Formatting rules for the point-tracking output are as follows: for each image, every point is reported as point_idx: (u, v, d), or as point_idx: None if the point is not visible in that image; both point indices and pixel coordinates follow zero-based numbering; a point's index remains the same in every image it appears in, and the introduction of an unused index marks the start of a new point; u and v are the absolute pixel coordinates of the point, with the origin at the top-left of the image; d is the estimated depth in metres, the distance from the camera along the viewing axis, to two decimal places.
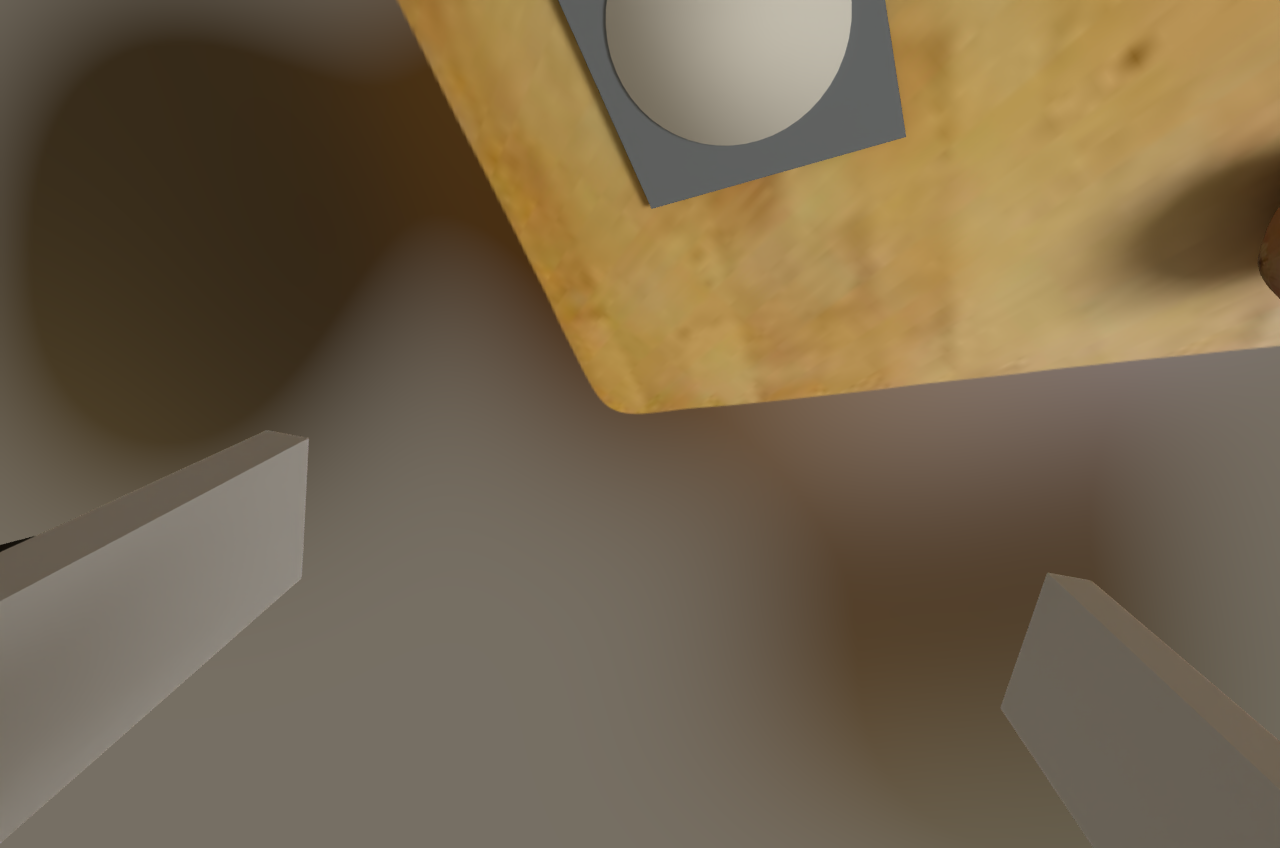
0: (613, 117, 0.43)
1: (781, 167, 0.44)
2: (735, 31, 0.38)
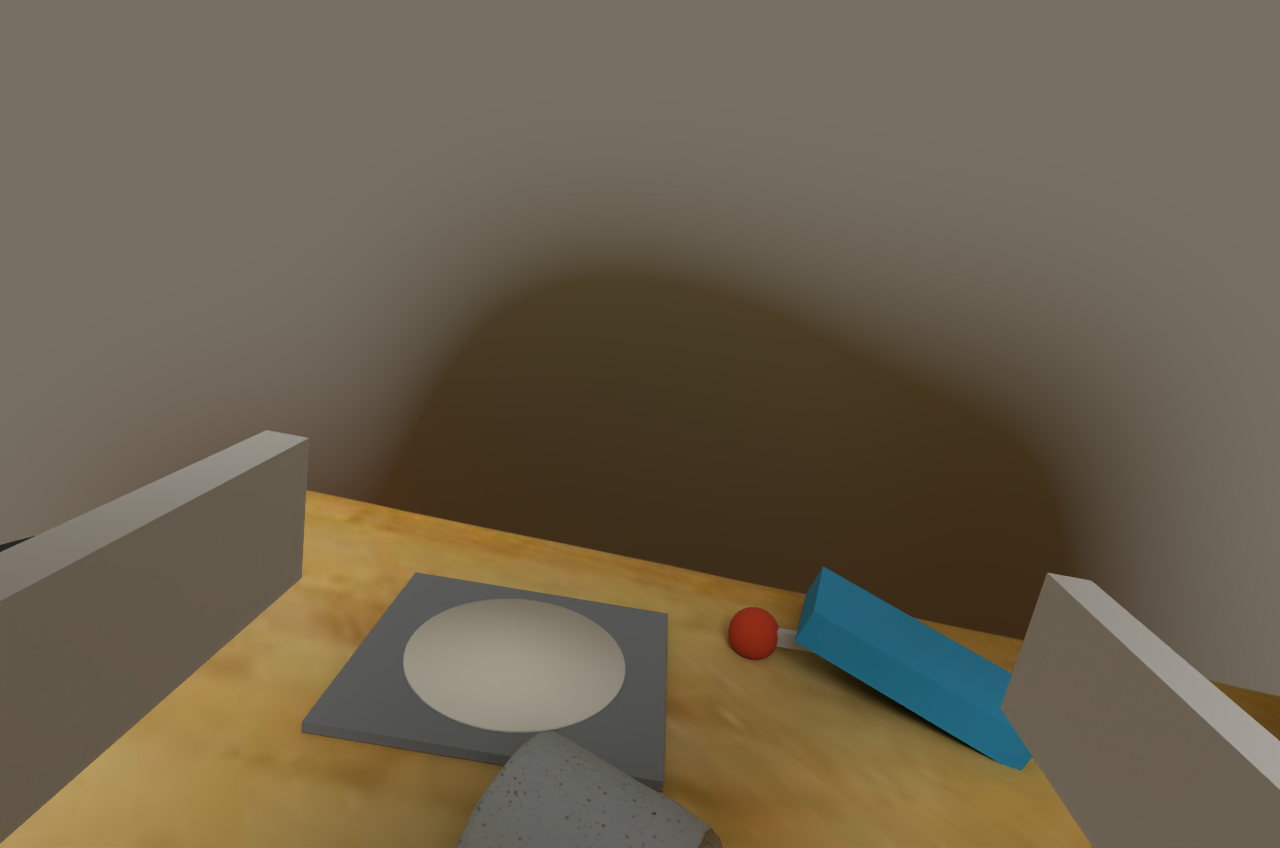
0: (506, 588, 0.51)
1: (368, 641, 0.42)
2: (512, 659, 0.43)
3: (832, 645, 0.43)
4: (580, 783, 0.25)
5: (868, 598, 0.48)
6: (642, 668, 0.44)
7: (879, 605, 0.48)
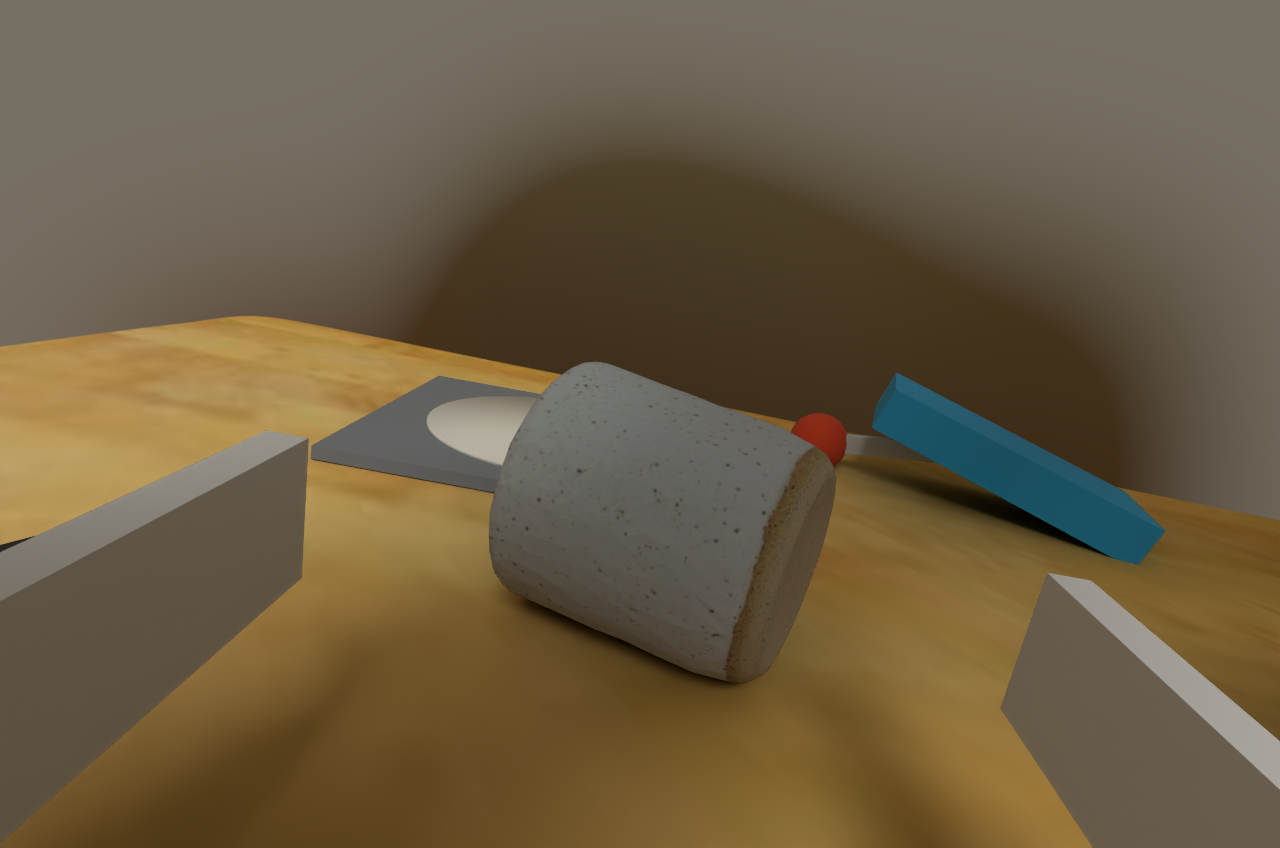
0: (538, 394, 0.46)
1: (387, 408, 0.38)
2: None
3: (917, 428, 0.38)
4: (663, 389, 0.21)
5: (949, 402, 0.43)
6: None
7: (962, 409, 0.42)
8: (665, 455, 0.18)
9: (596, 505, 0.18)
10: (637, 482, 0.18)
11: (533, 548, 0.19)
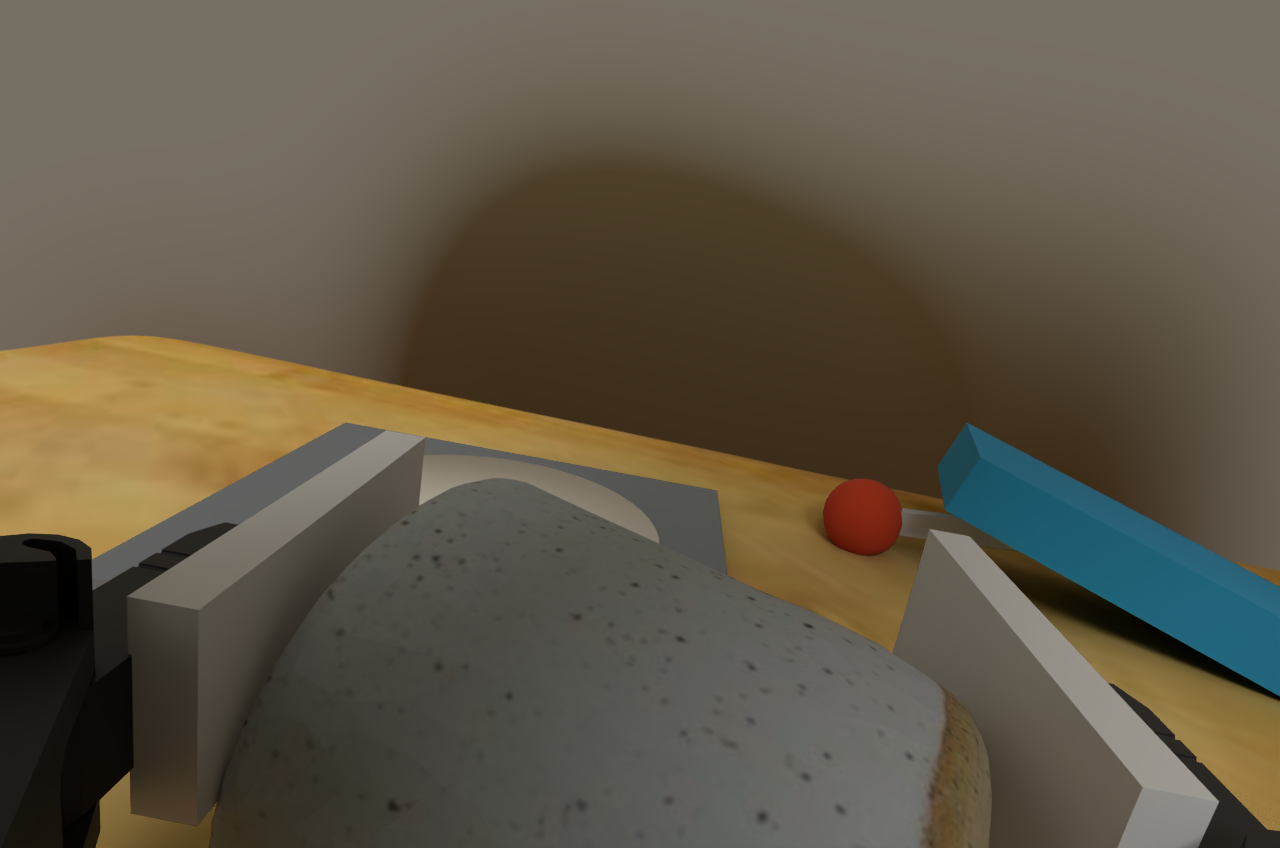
0: (478, 447, 0.34)
1: (241, 484, 0.26)
2: None
3: (1010, 513, 0.27)
4: (610, 553, 0.10)
5: (1042, 465, 0.31)
6: (686, 545, 0.27)
7: (1061, 475, 0.31)
8: (605, 778, 0.07)
9: None
10: None
11: None
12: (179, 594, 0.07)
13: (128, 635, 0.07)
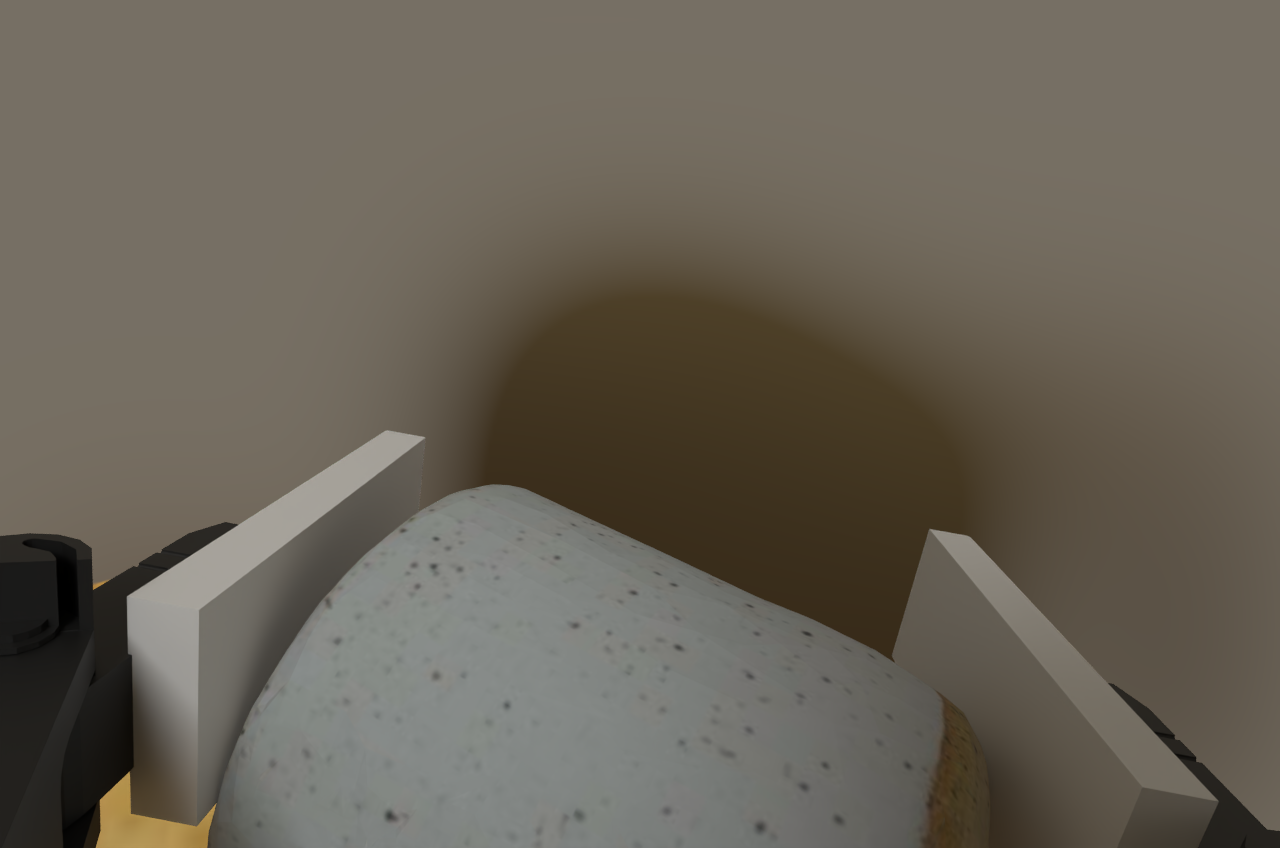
0: None
1: None
2: None
3: None
4: (608, 561, 0.10)
5: None
6: None
7: None
8: (603, 787, 0.07)
9: None
10: None
11: None
12: (180, 594, 0.07)
13: (127, 635, 0.07)
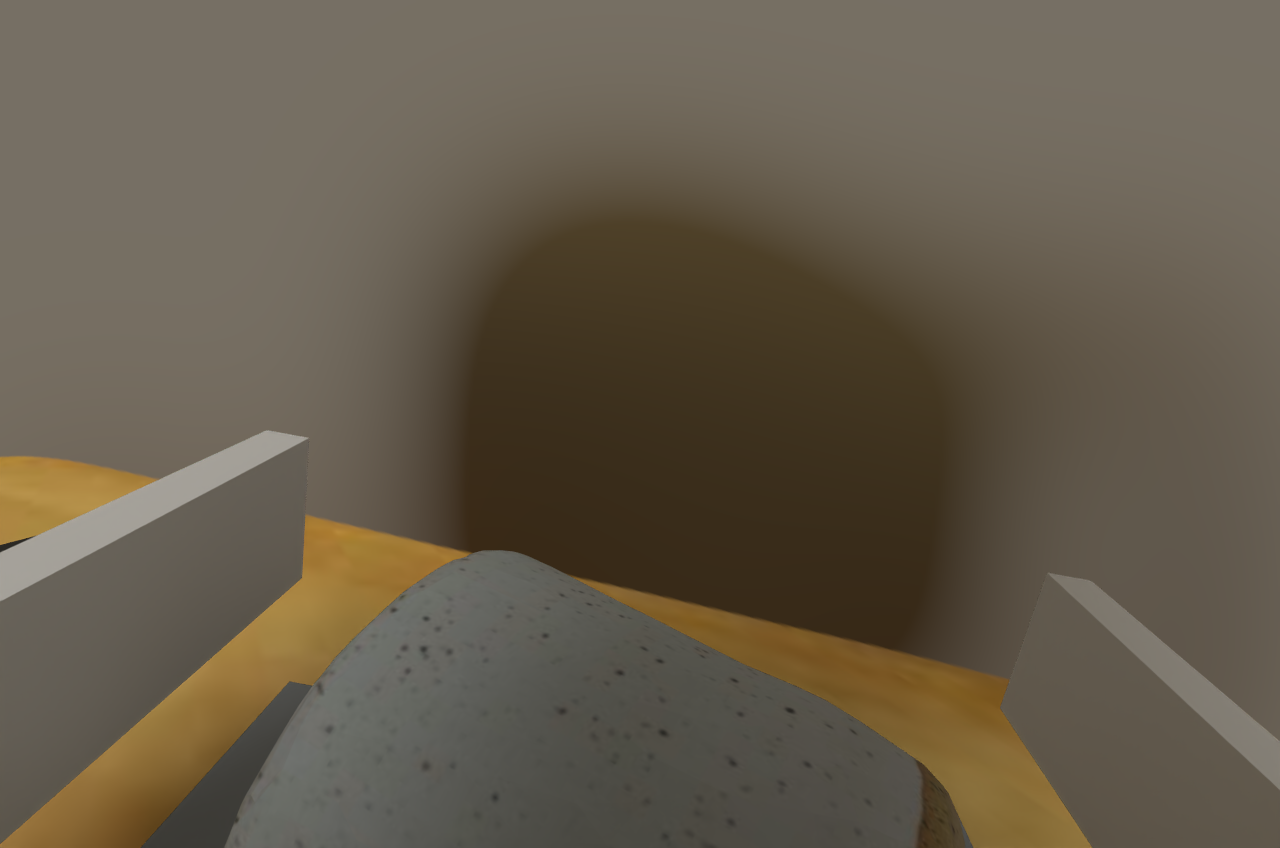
0: None
1: None
2: None
3: None
4: (596, 637, 0.10)
5: None
6: None
7: None
8: None
9: None
10: None
11: None
12: None
13: None
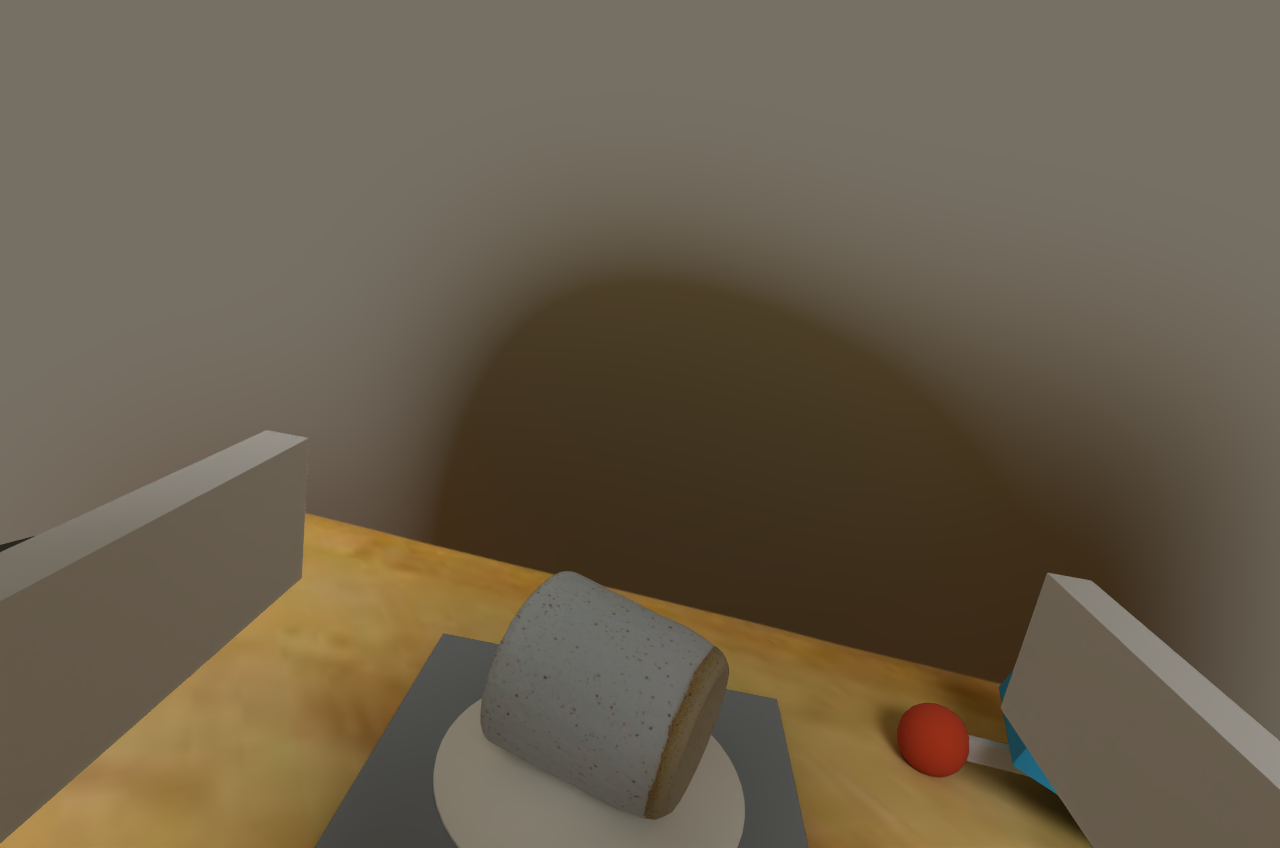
0: None
1: (382, 747, 0.30)
2: None
3: None
4: (606, 602, 0.29)
5: None
6: (764, 791, 0.31)
7: None
8: (604, 668, 0.27)
9: (556, 703, 0.26)
10: (585, 688, 0.26)
11: (512, 727, 0.27)
12: None
13: None
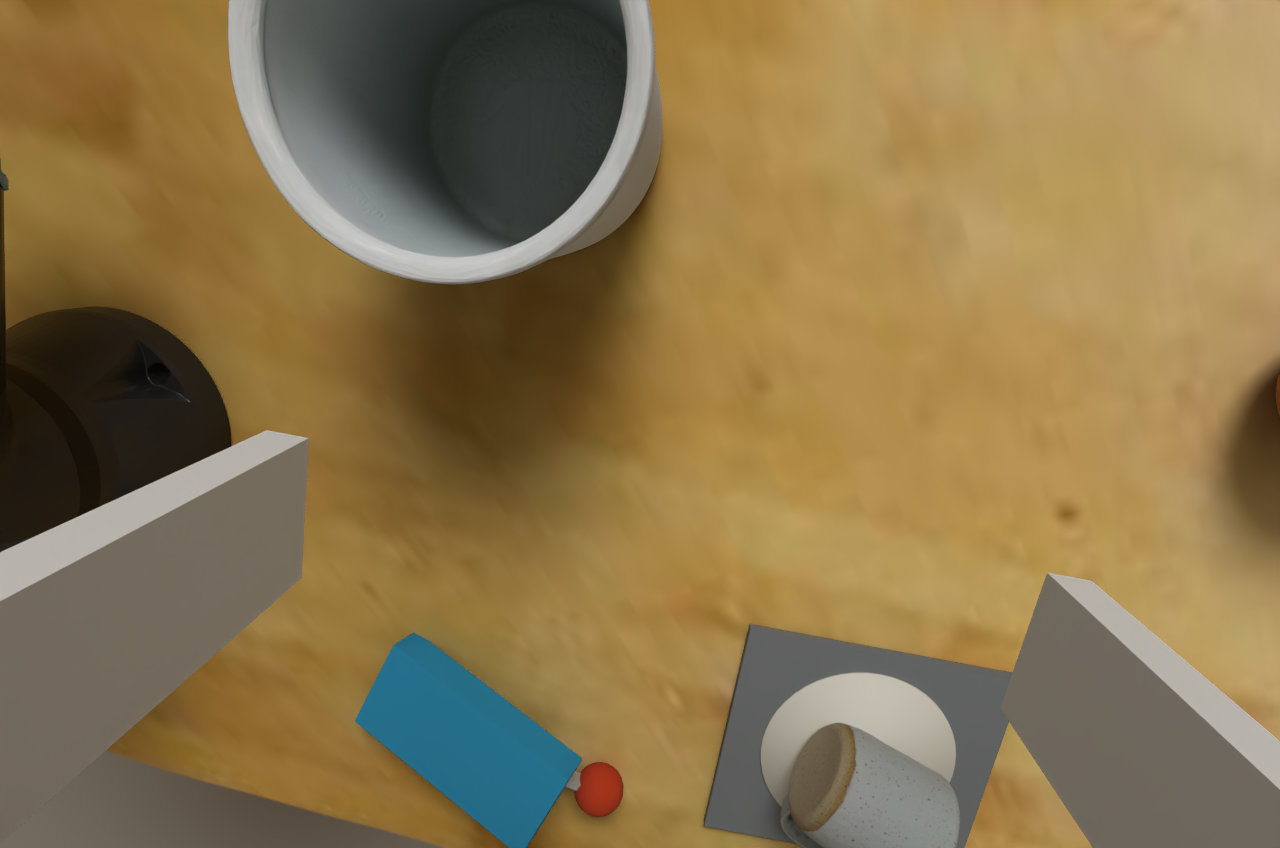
0: None
1: (986, 770, 0.49)
2: None
3: (551, 749, 0.46)
4: None
5: (484, 812, 0.47)
6: (744, 748, 0.50)
7: (475, 803, 0.47)
8: (897, 804, 0.42)
9: (917, 783, 0.43)
10: (905, 790, 0.43)
11: (931, 773, 0.45)
12: None
13: None
